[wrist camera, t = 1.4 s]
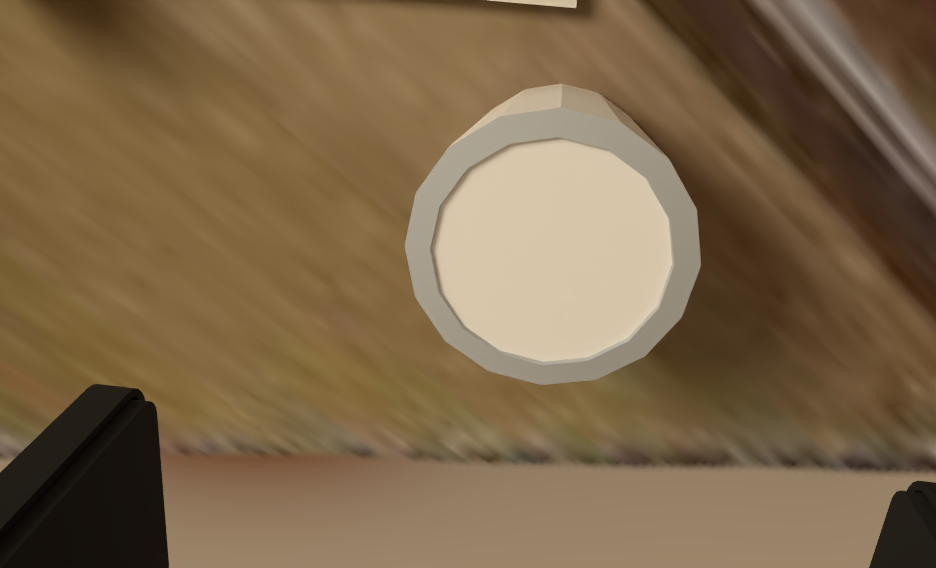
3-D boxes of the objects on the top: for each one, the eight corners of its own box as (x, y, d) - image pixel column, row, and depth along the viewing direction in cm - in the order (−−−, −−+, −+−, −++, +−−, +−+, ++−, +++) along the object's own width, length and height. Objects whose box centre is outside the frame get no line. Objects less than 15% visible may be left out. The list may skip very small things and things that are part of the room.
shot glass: (567, 11, 24) (565, 40, 18) (717, 186, 26) (765, 271, 19) (399, 167, 26) (343, 243, 20) (545, 320, 28) (537, 436, 21)
